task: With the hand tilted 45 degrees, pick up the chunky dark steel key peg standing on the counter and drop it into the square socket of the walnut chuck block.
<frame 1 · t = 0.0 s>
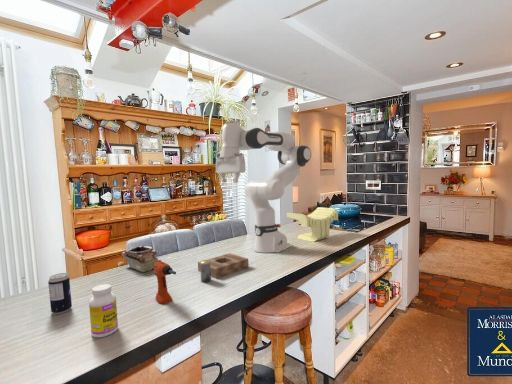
hand: (229, 182, 138), 39 cm above the breakfast bar, tool pointing down, fingers open, 8 cm apart
beverage can: (61, 311, 93), on the breakfast bar
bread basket: (313, 238, 177), on the breakfast bar
chuck block: (223, 269, 127), on the breakfast bar
toy drill: (168, 304, 94), on the breakfast bar
decorative box: (137, 269, 133), on the breakfast bar
key peg: (206, 280, 114), on the breakfast bar
supplement bottle: (105, 332, 79), on the breakfast bar
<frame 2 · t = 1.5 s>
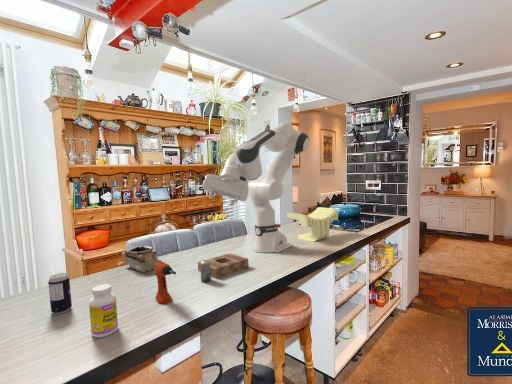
hand: (221, 201, 117), 32 cm above the breakfast bar, tool tilted 50°, fingers open, 8 cm apart
nothing on the breakfast bar moved.
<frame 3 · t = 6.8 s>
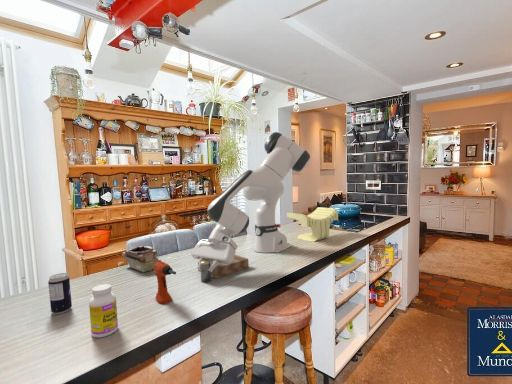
hand: (204, 270, 113), 5 cm above the breakfast bar, tool tilted 45°, fingers closed on key peg, 4 cm apart
key peg: (206, 280, 114), on the breakfast bar, touching gripper
everything else where it was.
when the fingers open (9 cm above the breakfast bar, at t = 12.4 s): key peg drops 5 cm, resting in chuck block.
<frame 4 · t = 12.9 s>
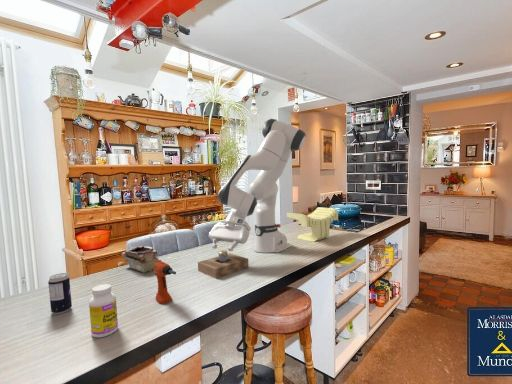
hand: (221, 249, 126), 9 cm above the breakfast bar, tool tilted 45°, fingers open, 8 cm apart
key peg: (223, 269, 127), resting in chuck block
everything else where it was.
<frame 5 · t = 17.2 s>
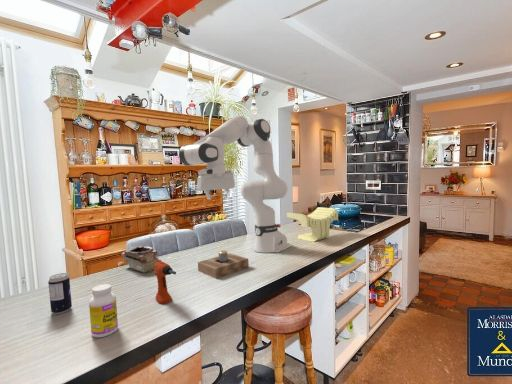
hand: (217, 198, 138), 31 cm above the breakfast bar, tool pointing down, fingers open, 8 cm apart
nothing on the breakfast bar moved.
at the end: key peg 0.1 cm off-centre on the chuck block, point 0.0 cm above the chuck block's base; key peg tilted 0°; the gripper is holding nothing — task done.
